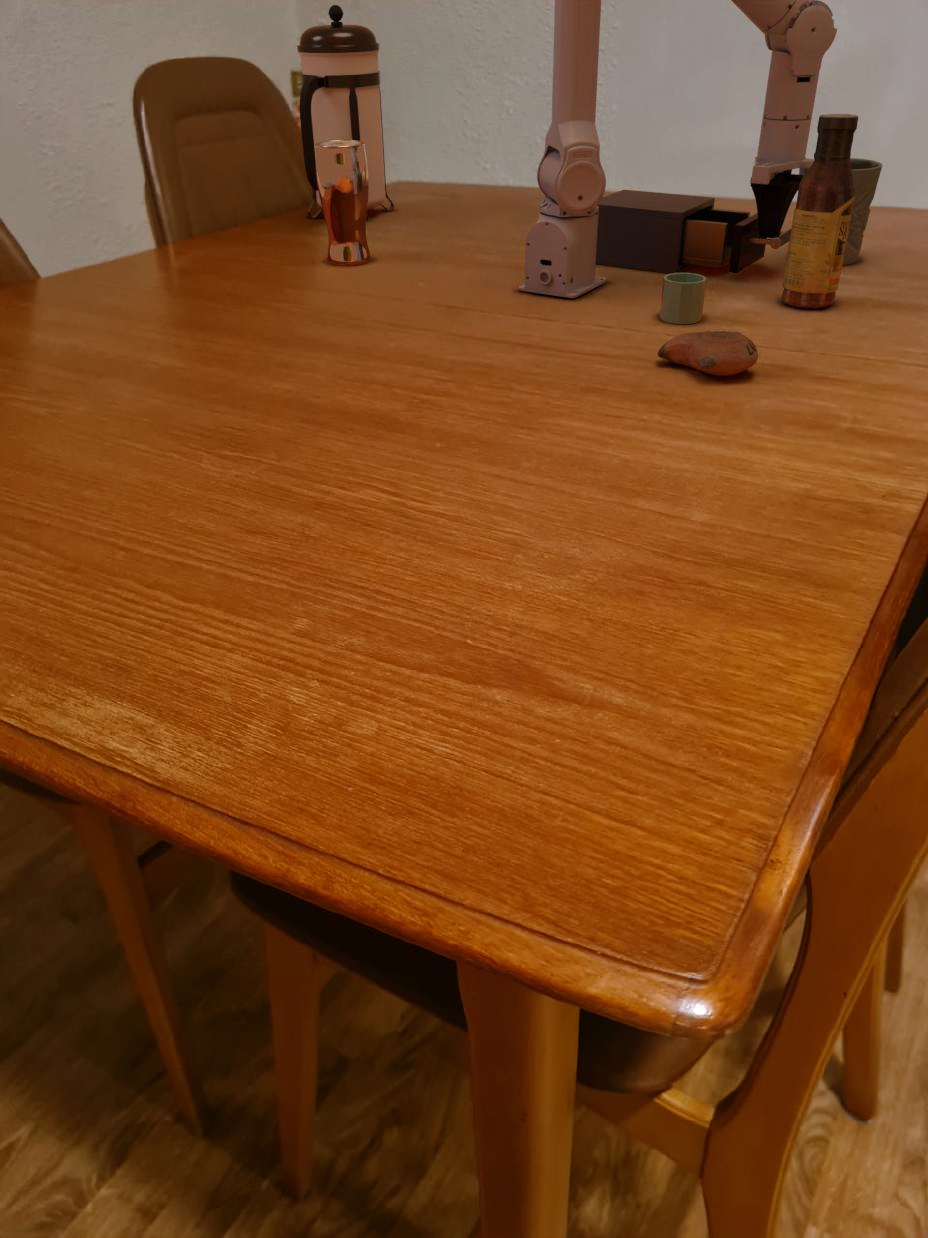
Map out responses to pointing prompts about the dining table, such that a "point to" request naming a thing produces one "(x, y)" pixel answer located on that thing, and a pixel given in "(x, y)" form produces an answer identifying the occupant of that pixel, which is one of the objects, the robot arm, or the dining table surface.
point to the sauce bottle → (822, 217)
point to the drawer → (725, 239)
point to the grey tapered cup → (859, 203)
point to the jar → (682, 298)
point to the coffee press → (342, 98)
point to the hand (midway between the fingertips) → (768, 236)
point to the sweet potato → (711, 351)
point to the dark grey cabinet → (644, 229)
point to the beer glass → (344, 199)
